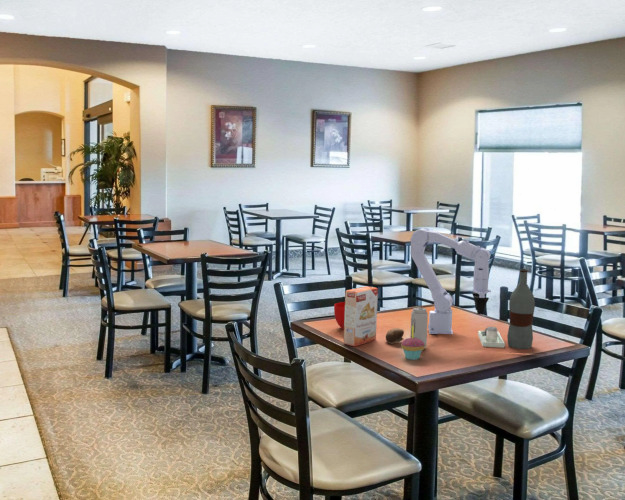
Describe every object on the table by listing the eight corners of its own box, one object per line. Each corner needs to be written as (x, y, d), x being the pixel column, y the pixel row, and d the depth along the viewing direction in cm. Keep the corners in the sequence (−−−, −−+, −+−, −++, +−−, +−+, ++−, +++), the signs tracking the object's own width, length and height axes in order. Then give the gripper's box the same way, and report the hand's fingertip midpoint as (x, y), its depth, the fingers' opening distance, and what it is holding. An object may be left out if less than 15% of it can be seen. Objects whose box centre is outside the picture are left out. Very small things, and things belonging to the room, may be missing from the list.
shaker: (486, 344, 248) (487, 328, 247) (485, 341, 252) (486, 326, 251) (497, 344, 247) (498, 329, 247) (496, 341, 251) (496, 326, 250)
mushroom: (410, 333, 252) (401, 321, 250) (406, 345, 245) (397, 333, 244) (393, 340, 256) (384, 328, 255) (389, 352, 250) (380, 340, 248)
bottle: (537, 348, 245) (542, 270, 241) (521, 352, 240) (525, 272, 236) (517, 343, 252) (522, 266, 249) (501, 346, 248) (505, 268, 244)
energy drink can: (407, 346, 245) (408, 307, 243) (420, 345, 247) (422, 306, 245) (415, 351, 239) (417, 311, 237) (429, 349, 241) (431, 309, 240)
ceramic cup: (378, 328, 273) (378, 304, 271) (347, 334, 262) (347, 309, 261) (357, 322, 283) (358, 299, 282) (327, 327, 273) (327, 304, 271)
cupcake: (398, 354, 234) (399, 321, 233) (421, 354, 235) (422, 321, 234) (403, 361, 226) (404, 327, 224) (427, 361, 227) (428, 327, 225)
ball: (484, 338, 257) (485, 328, 256) (483, 335, 261) (484, 325, 260) (495, 338, 256) (495, 328, 256) (493, 336, 260) (494, 326, 259)
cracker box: (355, 347, 243) (357, 292, 240) (342, 344, 247) (344, 290, 244) (377, 340, 254) (378, 287, 251) (364, 337, 257) (366, 285, 255)
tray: (482, 347, 245) (482, 342, 245) (478, 335, 262) (478, 330, 262) (504, 349, 244) (504, 343, 243) (498, 337, 261) (498, 331, 261)
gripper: (493, 282, 251) (491, 316, 253) (489, 276, 266) (487, 308, 267) (474, 281, 252) (473, 315, 254) (471, 275, 267) (470, 308, 268)
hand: (479, 312), depth 261 cm, fingers open, 7 cm apart
